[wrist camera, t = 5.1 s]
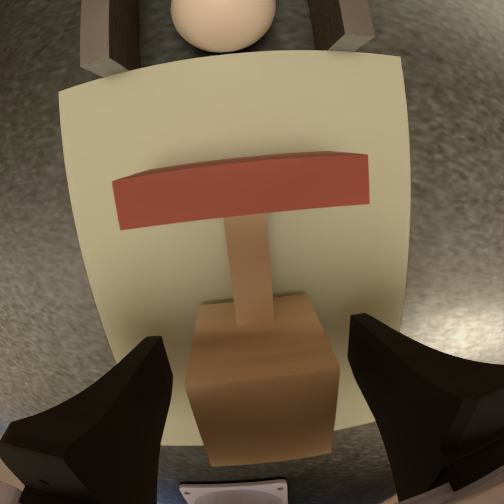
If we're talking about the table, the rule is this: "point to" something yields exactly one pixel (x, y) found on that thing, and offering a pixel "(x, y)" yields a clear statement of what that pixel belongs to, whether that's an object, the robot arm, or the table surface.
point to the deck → (212, 230)
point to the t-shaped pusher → (253, 301)
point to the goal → (127, 35)
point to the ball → (222, 22)
